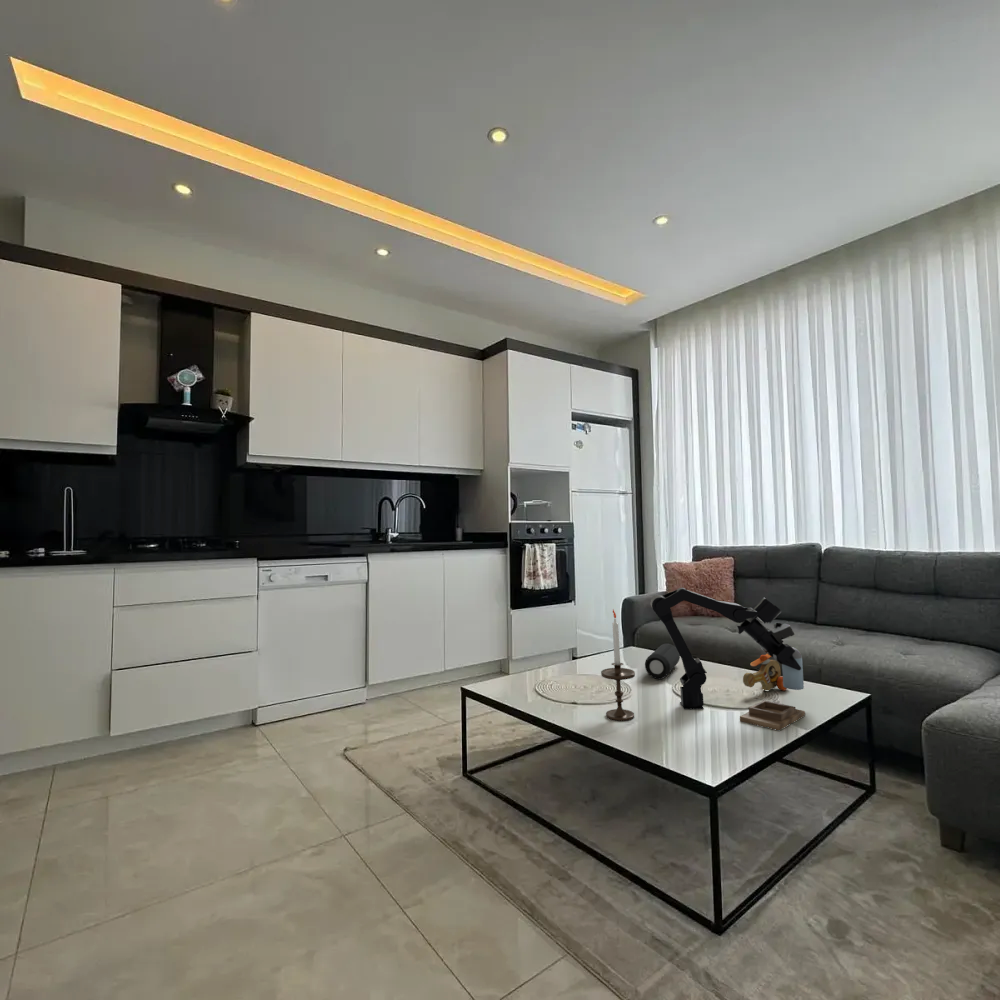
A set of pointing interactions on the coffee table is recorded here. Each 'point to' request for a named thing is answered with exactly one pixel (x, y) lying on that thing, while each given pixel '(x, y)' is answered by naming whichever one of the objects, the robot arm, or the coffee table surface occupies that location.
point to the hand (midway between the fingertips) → (796, 666)
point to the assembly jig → (771, 715)
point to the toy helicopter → (765, 674)
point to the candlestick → (618, 679)
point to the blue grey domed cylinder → (793, 674)
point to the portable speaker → (662, 661)
